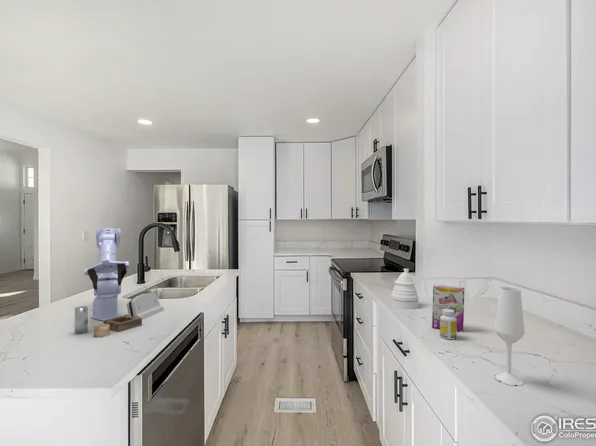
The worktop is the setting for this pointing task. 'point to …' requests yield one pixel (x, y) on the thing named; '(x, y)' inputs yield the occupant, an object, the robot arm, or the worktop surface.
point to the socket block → (123, 322)
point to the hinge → (144, 306)
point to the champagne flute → (509, 326)
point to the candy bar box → (448, 304)
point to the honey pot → (404, 292)
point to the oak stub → (101, 330)
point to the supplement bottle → (448, 324)
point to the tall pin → (81, 320)
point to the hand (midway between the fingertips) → (107, 285)
